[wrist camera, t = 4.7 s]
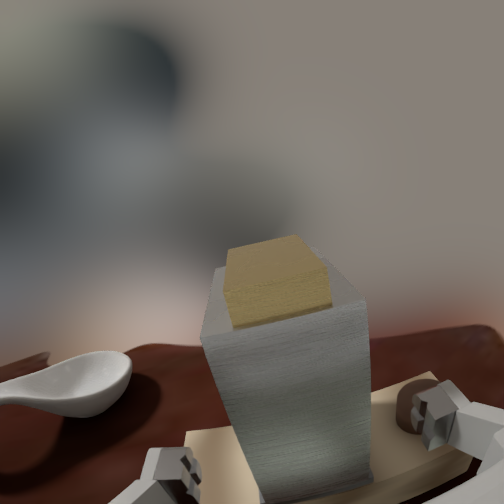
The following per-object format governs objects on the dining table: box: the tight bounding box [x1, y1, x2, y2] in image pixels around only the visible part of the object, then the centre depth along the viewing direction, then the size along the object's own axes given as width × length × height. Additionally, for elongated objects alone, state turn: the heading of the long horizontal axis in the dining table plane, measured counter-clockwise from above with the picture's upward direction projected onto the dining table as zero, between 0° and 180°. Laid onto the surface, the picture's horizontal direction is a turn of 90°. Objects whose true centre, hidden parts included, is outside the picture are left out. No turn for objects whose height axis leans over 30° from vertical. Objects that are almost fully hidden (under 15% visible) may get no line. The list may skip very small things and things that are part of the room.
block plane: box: [184, 371, 473, 504], centre depth 15 cm, size 17×7×6 cm, turn 92°
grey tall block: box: [200, 234, 371, 504], centre depth 13 cm, size 5×7×11 cm
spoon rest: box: [0, 351, 132, 418], centre depth 24 cm, size 24×12×7 cm, turn 148°
